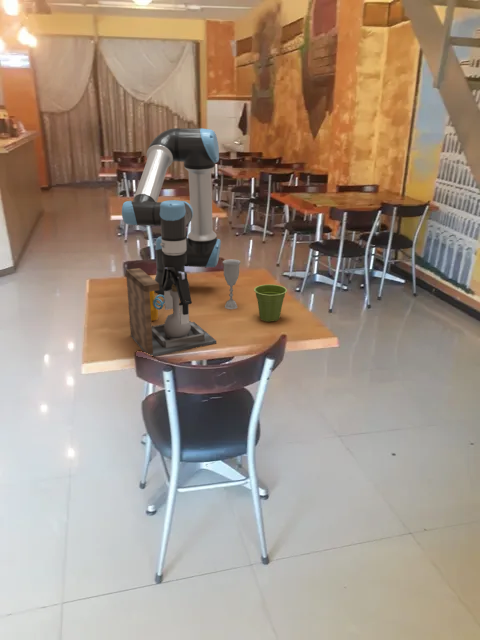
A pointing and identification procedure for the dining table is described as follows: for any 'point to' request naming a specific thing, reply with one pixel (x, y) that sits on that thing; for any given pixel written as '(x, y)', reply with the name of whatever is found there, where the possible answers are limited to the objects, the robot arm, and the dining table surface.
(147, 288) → the ledge nook
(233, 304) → the chalice
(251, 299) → the dining table surface
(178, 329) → the potion bottle
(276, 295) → the plant pot
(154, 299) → the orange ring-handled vase
